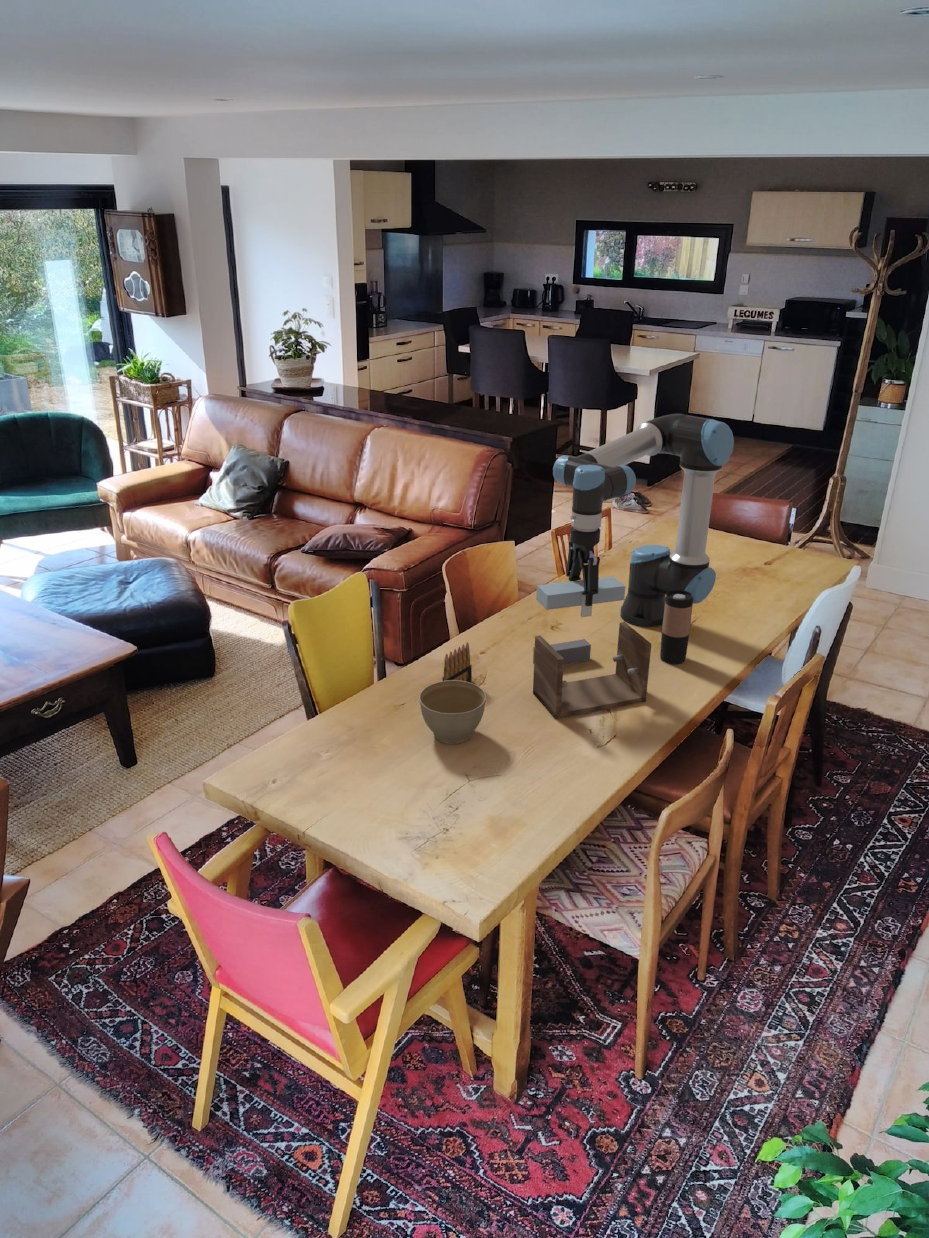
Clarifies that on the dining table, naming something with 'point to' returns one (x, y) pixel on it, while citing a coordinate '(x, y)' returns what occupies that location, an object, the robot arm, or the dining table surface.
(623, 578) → the dining table surface
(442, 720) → the planter bowl
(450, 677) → the ammunition clip
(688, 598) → the travel mug
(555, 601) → the shelf board
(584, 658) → the grey rectangular block
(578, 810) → the dining table surface
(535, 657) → the shelf frame
